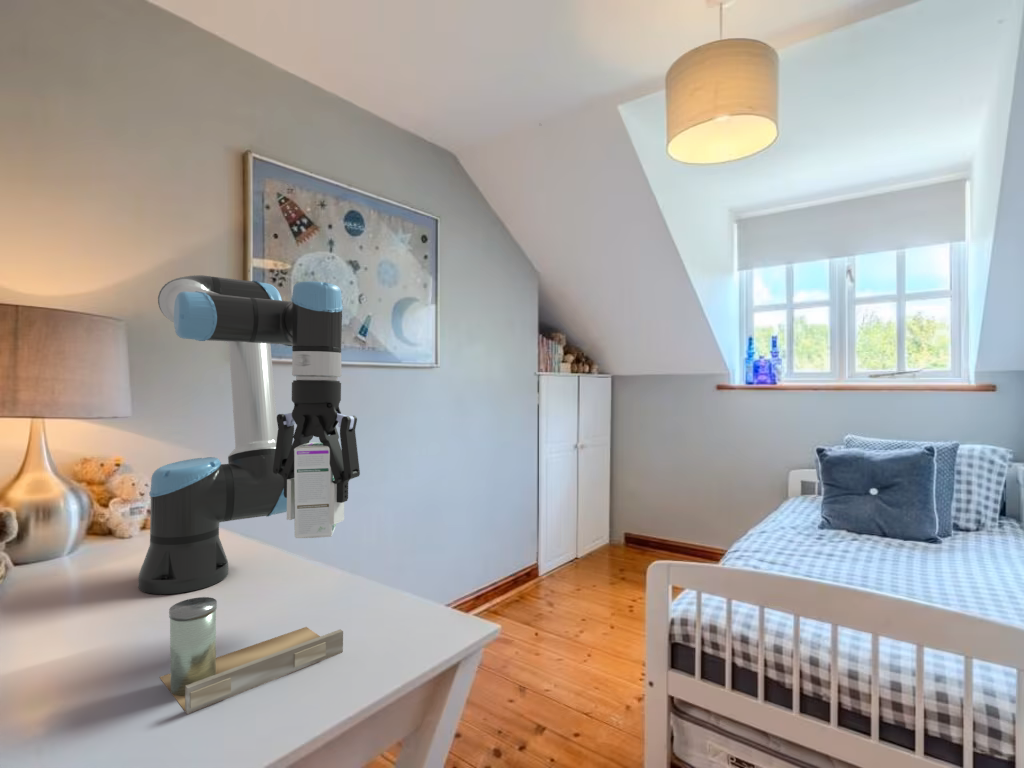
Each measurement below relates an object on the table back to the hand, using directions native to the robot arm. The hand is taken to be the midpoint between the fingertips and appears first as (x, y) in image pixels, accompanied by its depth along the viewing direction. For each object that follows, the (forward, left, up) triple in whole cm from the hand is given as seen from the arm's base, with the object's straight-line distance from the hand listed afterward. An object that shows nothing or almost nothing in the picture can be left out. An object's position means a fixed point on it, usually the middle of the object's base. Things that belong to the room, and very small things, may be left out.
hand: (315, 519), depth 88 cm
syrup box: (0, 0, -2) cm, 2 cm away
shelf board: (+7, -12, -17) cm, 22 cm away
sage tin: (+7, -20, -16) cm, 26 cm away
